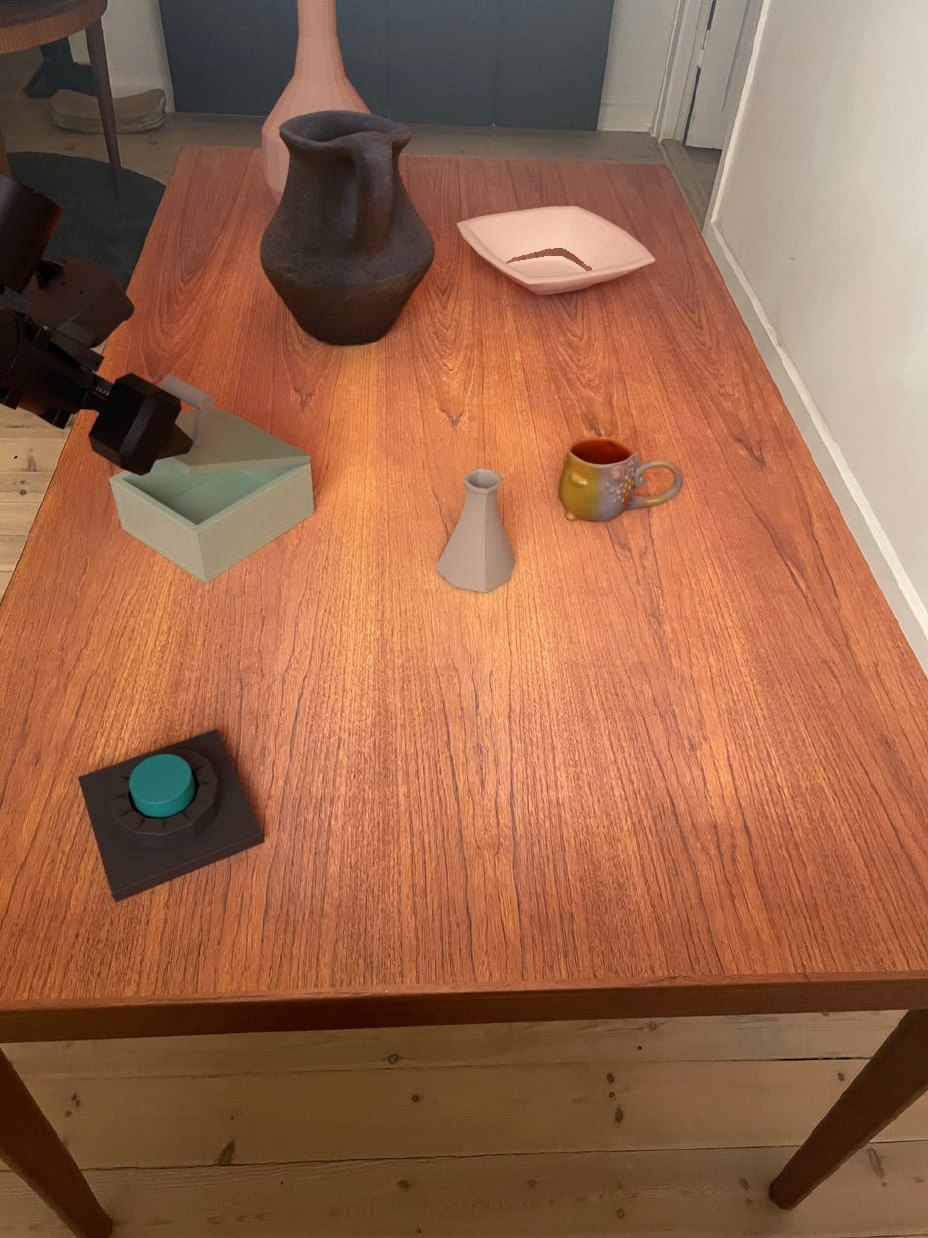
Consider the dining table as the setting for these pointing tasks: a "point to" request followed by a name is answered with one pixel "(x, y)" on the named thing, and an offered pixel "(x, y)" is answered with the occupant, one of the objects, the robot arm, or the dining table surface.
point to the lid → (223, 437)
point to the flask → (478, 538)
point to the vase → (308, 86)
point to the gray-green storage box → (212, 512)
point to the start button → (162, 785)
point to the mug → (607, 480)
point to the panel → (169, 819)
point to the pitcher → (345, 227)
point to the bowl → (552, 229)
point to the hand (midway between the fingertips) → (152, 425)
